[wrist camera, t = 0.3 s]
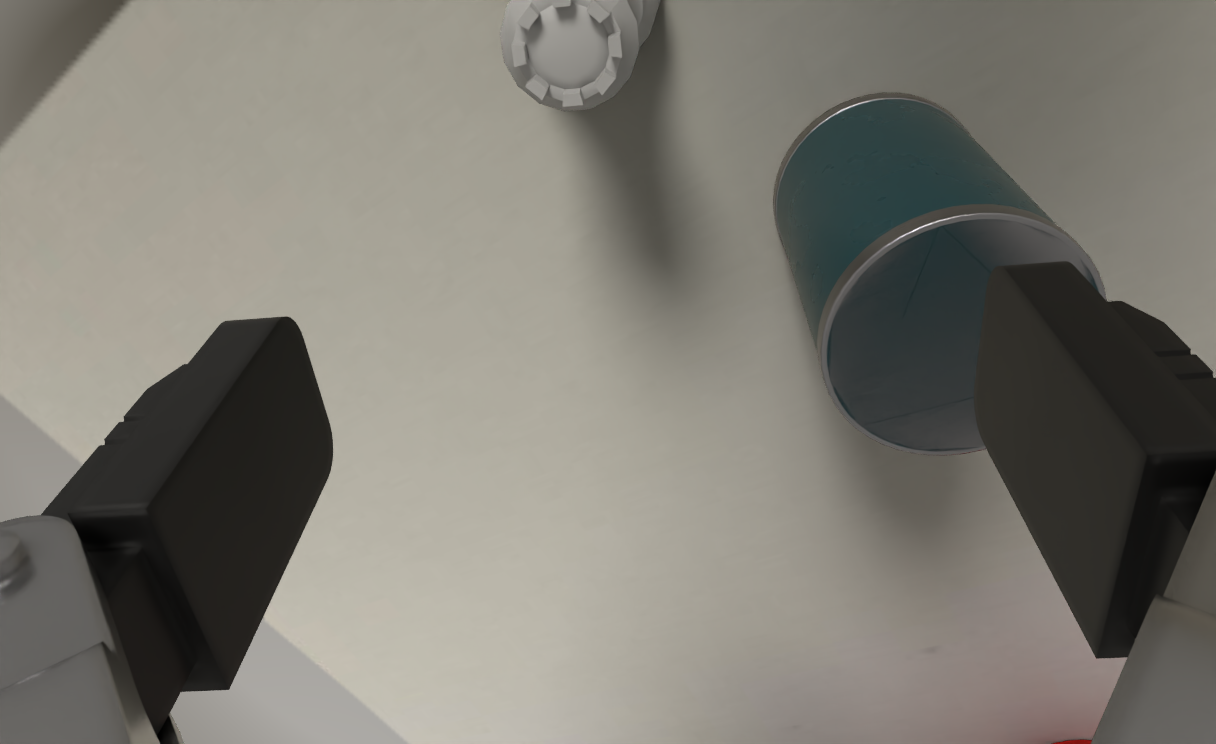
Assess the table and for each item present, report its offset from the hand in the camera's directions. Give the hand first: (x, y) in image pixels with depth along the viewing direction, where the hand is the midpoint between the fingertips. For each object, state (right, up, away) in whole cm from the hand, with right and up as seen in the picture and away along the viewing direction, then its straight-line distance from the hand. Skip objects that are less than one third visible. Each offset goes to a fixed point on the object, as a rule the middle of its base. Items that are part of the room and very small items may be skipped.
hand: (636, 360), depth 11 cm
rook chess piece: (-1, +11, +17) cm, 21 cm away
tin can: (+9, +6, +20) cm, 22 cm away
